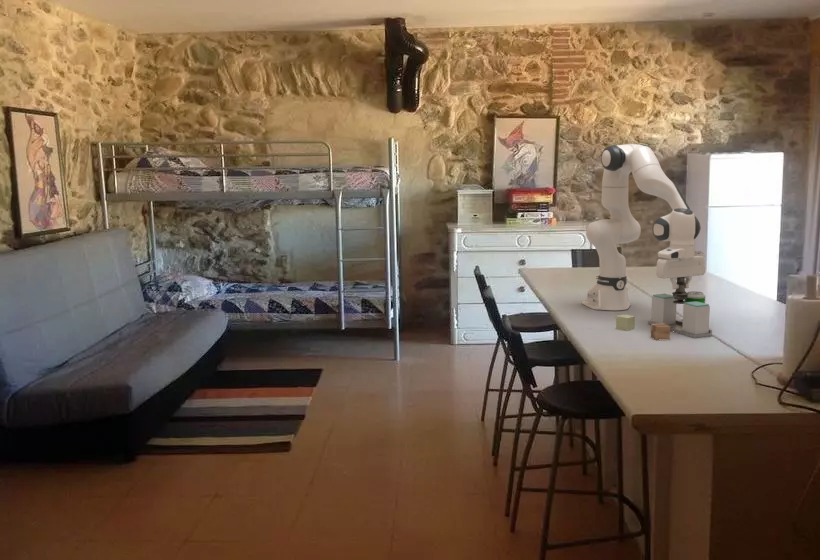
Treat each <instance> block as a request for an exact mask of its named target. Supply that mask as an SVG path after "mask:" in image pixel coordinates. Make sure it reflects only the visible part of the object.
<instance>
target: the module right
mask: <svg viewBox="0 0 820 560" xmlns="http://www.w3.org/2000/svg"><path fill="white" fill-rule="evenodd" d="M682 305H683V306H682V307H683V308H682V322H683V327H682V330H683V331H686V332H689V333H693V334H703V333H709V329H710V314H711V313H710V312H711V311H710V309H711V308H710V307H711V306H710V304H709V303H706V302H705V303H701V302H697V301H695V302H685V303H684V304H682Z"/></svg>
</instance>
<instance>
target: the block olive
mask: <svg viewBox="0 0 820 560" xmlns="http://www.w3.org/2000/svg"><path fill="white" fill-rule="evenodd" d="M615 319H616V320H615V329H616V330H620V329H621V331H625V330H626V332H628V331H631V330H635V329H636V327H635V326H636V316H635V315H629V314H621V315H619V314H618V315H616V317H615Z"/></svg>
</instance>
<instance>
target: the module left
mask: <svg viewBox="0 0 820 560" xmlns="http://www.w3.org/2000/svg"><path fill="white" fill-rule="evenodd" d="M675 300H676V299H675V298H674V297H673V294H669V293H656V294H652V296H651V320H650V321H653V322H656V323H660V324H661V323H665V324H672V323H676V320H677V304H676V303H673V301H675Z"/></svg>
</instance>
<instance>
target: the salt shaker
mask: <svg viewBox="0 0 820 560" xmlns="http://www.w3.org/2000/svg"><path fill="white" fill-rule="evenodd" d="M685 280H686V279H685V277H677V280H676V283H677V284H678V285H679V289H675V291H674V292H672V293H671V295H673V297H674V298H675V299H676V300H675V301H673V303H676V305H683V304H684V303H685V302H686V301H685V299H686V298H687V296H688V293H687V291H686V288H685V284H686V283H685Z"/></svg>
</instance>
